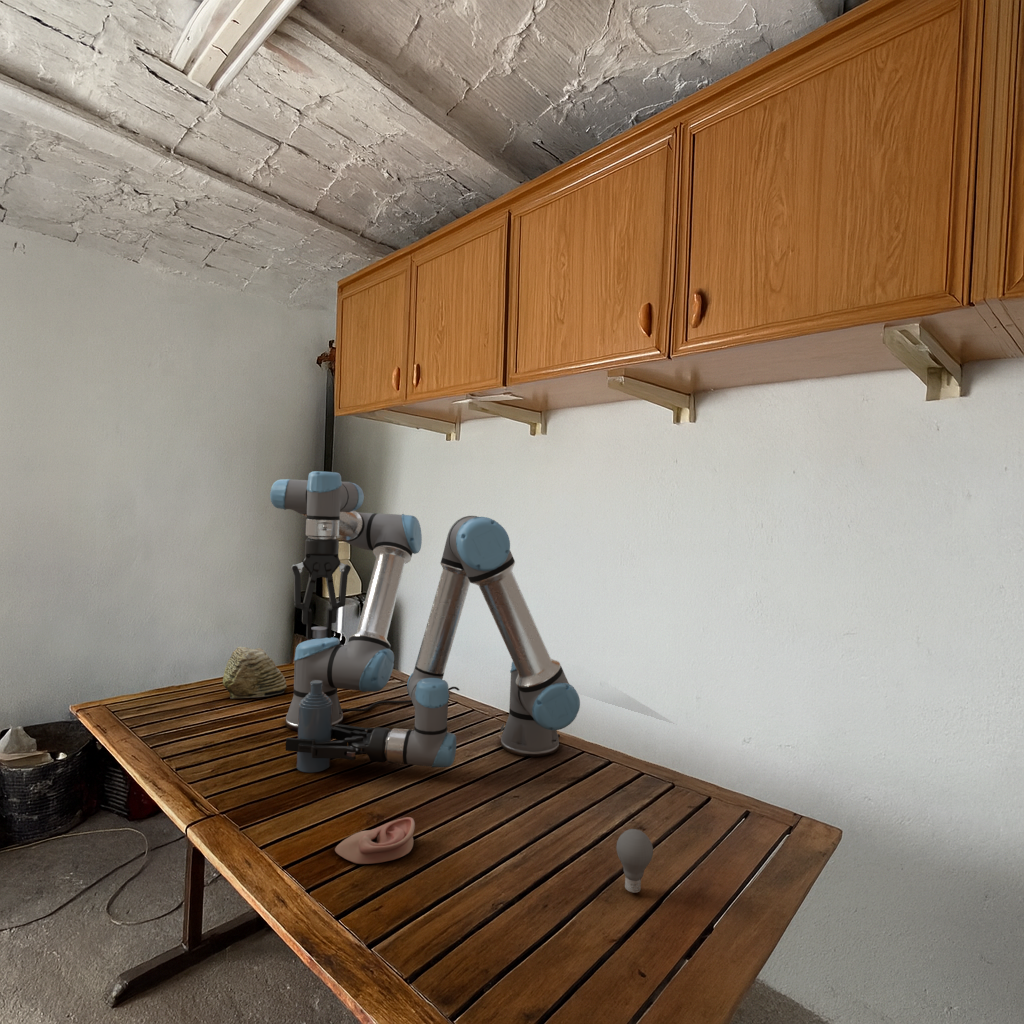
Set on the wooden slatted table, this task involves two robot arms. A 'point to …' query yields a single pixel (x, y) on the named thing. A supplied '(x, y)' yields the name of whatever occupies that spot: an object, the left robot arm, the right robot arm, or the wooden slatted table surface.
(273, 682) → the fossil
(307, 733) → the bottle
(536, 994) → the wooden slatted table surface
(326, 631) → the cap
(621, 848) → the light bulb
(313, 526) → the left robot arm
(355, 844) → the anatomical model
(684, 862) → the wooden slatted table surface
